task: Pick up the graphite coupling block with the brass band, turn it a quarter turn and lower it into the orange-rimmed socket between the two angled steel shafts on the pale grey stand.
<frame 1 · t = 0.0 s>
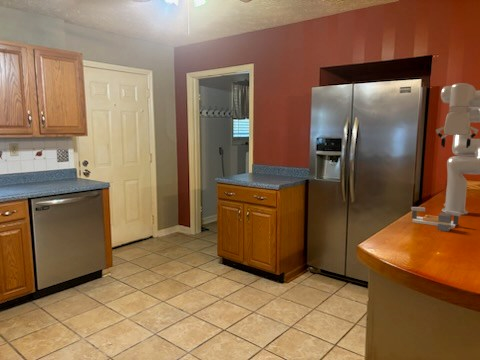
hand: (455, 147, 168), 37 cm above the countertop, fingers open, 9 cm apart
coupling block: (443, 229, 163), on the countertop
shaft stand: (434, 223, 175), on the countertop
gear: (451, 206, 219), on the countertop
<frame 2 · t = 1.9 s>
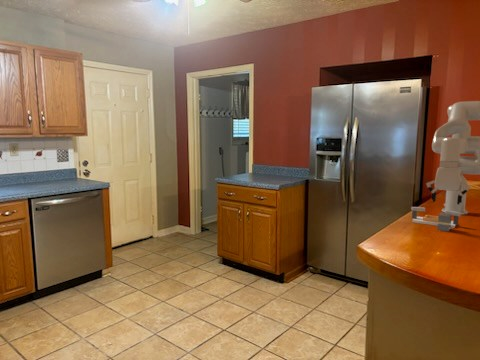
hand: (446, 202, 161), 12 cm above the countertop, fingers open, 9 cm apart
nothing on the countertop moved.
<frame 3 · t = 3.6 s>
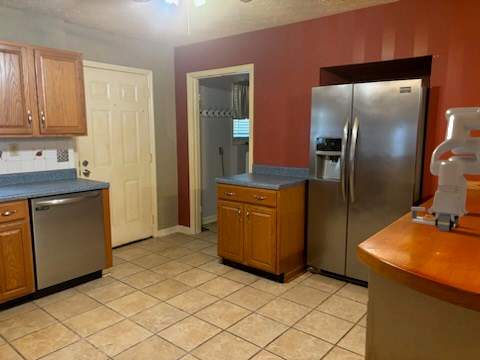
hand: (444, 227, 163), 1 cm above the countertop, fingers closed on coupling block, 4 cm apart
coupling block: (443, 229, 163), on the countertop, touching gripper
everything else where it was.
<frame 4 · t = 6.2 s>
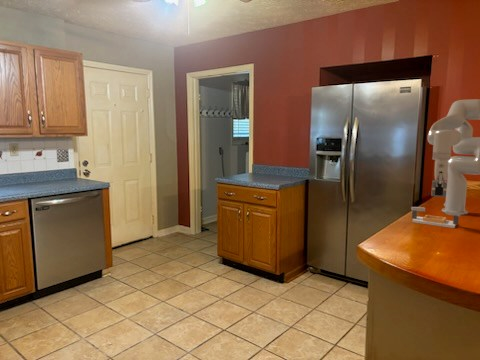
hand: (438, 193, 171), 15 cm above the countertop, fingers closed on coupling block, 4 cm apart
coupling block: (438, 195, 171), point 14 cm above the countertop, touching gripper
everything else where it was.
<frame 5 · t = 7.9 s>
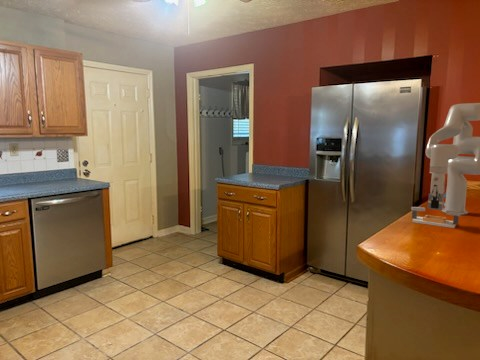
hand: (435, 207, 174), 8 cm above the countertop, fingers closed on coupling block, 4 cm apart
coupling block: (435, 208, 174), point 7 cm above the countertop, touching gripper
everything else where it was.
when the fingers open (4 cm above the countertop, at t = 9.1 s): coupling block drops 1 cm, resting on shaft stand.
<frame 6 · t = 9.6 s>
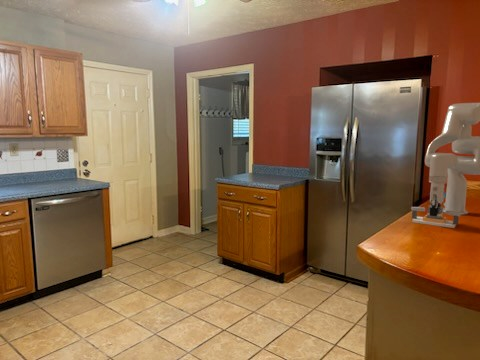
hand: (434, 214, 174), 4 cm above the countertop, fingers open, 9 cm apart
coupling block: (434, 220, 175), point 1 cm above the countertop, touching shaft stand
everything else where it was.
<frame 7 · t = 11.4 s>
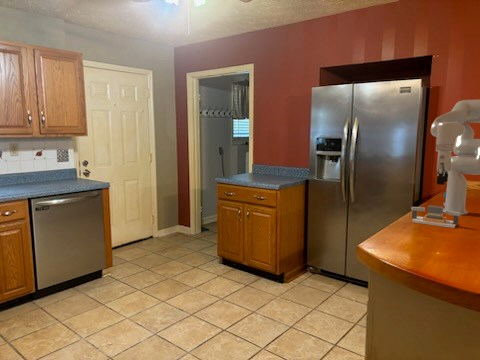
hand: (442, 183, 174), 20 cm above the countertop, fingers open, 9 cm apart
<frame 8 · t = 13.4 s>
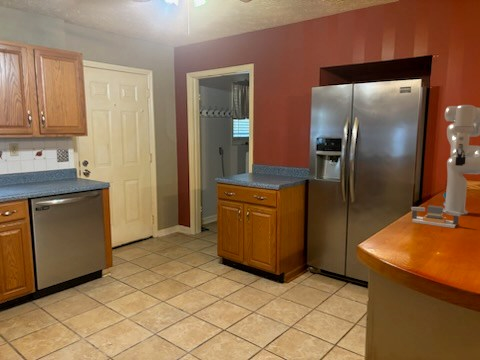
hand: (460, 164, 178), 28 cm above the countertop, fingers open, 9 cm apart
at the end: coupling block 0.1 cm off-centre on the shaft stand, point 1.2 cm above the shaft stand's base; coupling block tilted 0°; the gripper is holding nothing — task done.
